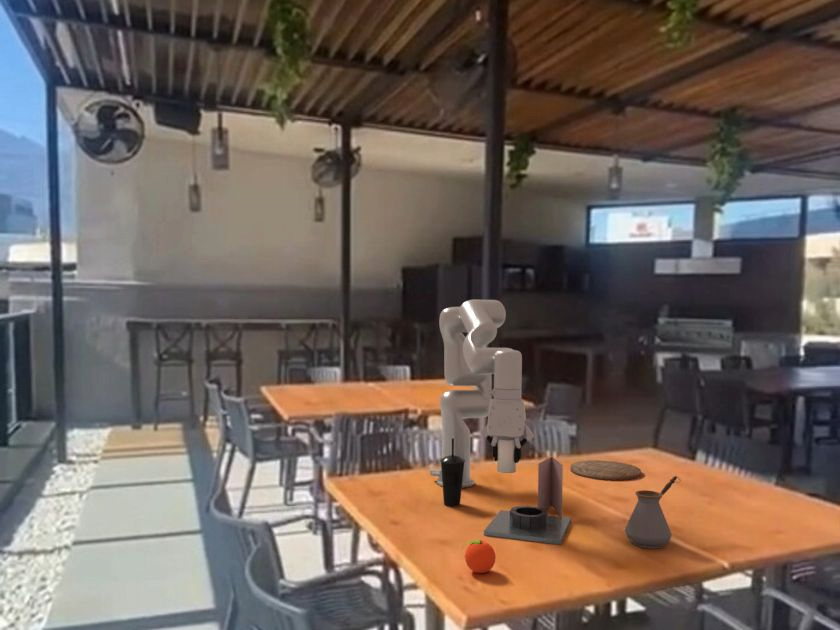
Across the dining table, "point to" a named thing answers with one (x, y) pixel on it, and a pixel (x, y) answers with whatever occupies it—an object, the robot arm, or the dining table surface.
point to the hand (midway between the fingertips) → (506, 460)
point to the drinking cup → (452, 478)
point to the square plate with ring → (528, 525)
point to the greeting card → (550, 484)
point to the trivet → (605, 470)
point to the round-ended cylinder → (506, 455)
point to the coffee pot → (649, 520)
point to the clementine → (480, 556)
